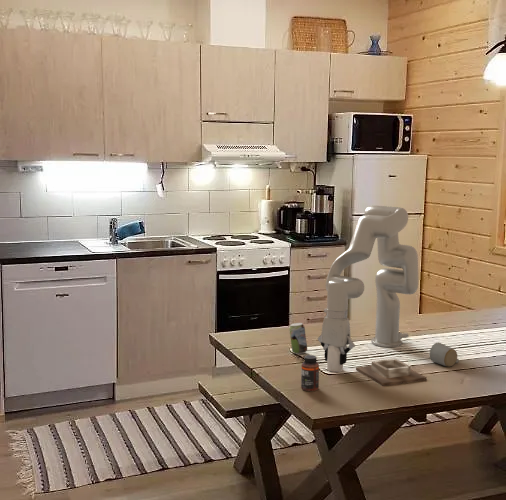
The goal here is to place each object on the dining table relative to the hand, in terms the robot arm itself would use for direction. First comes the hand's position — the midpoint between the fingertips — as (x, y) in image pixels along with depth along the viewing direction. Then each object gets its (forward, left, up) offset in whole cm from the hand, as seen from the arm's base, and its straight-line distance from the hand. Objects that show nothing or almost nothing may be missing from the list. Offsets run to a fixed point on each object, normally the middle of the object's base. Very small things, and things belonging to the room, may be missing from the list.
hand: (335, 361), depth 255 cm
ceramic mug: (-43, +8, -3) cm, 44 cm away
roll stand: (-16, +12, -3) cm, 20 cm away
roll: (0, 0, -3) cm, 3 cm away
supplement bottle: (+18, +15, -3) cm, 24 cm away
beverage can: (+4, -23, -3) cm, 24 cm away
